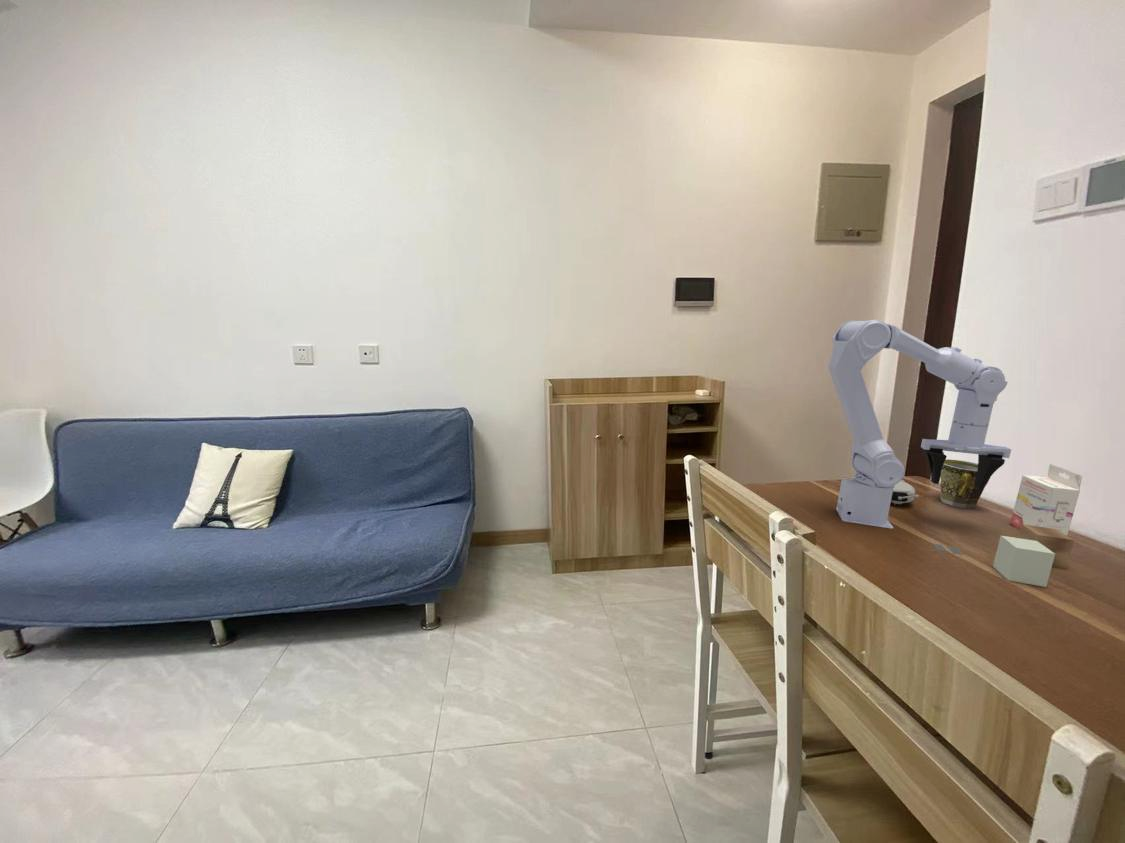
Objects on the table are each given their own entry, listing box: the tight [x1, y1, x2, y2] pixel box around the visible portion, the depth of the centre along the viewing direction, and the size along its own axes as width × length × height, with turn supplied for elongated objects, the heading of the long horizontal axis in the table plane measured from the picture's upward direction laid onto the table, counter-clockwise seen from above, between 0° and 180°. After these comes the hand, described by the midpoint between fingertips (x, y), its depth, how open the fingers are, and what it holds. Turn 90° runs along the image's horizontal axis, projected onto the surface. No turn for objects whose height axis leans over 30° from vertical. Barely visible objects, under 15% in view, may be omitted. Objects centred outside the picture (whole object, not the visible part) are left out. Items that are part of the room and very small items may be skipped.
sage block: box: [992, 535, 1055, 588], centre depth 79 cm, size 5×5×6 cm
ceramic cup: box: [940, 458, 991, 509], centre depth 112 cm, size 13×10×10 cm
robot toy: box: [840, 477, 920, 505], centre depth 116 cm, size 12×4×15 cm
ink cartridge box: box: [1009, 463, 1083, 536], centre depth 97 cm, size 9×5×15 cm, turn 168°
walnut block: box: [1018, 524, 1075, 569], centre depth 85 cm, size 5×5×6 cm
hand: (956, 485), depth 98 cm, fingers open, 7 cm apart
